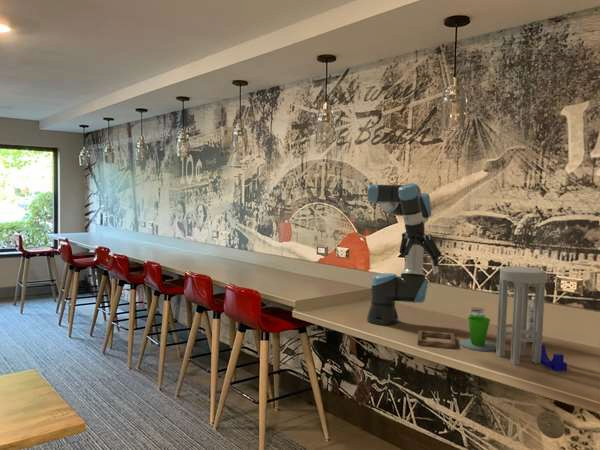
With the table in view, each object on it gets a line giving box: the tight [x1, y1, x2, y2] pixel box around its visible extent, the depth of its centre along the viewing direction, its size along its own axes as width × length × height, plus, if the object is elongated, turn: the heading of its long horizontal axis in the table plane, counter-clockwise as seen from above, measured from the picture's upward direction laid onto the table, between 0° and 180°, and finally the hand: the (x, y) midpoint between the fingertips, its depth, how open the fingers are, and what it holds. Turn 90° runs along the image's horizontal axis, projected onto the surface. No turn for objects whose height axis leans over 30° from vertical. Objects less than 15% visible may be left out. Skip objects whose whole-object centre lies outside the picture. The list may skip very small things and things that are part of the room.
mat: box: [460, 338, 496, 352], centre depth 204 cm, size 14×14×1 cm
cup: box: [467, 315, 491, 346], centre depth 203 cm, size 9×9×11 cm
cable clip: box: [540, 344, 568, 372], centre depth 182 cm, size 12×4×6 cm, turn 8°
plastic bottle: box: [526, 295, 544, 344], centre depth 209 cm, size 6×7×20 cm
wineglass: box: [468, 306, 486, 317], centre depth 218 cm, size 7×7×12 cm
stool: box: [495, 265, 547, 366], centre depth 188 cm, size 16×16×35 cm
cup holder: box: [417, 329, 456, 349], centre depth 209 cm, size 15×15×2 cm
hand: (422, 271), depth 203 cm, fingers open, 13 cm apart
